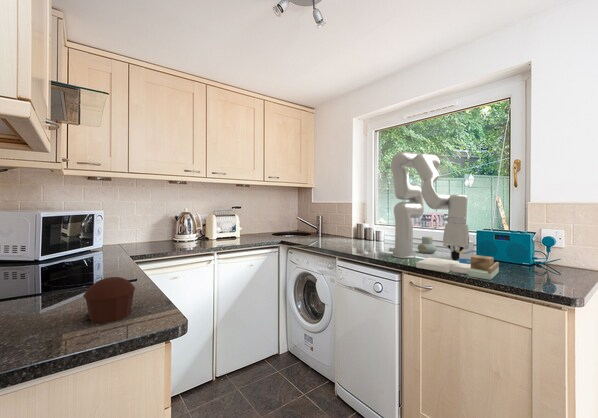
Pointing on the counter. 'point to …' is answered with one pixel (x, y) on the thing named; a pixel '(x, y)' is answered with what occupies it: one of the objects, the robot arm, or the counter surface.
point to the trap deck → (457, 267)
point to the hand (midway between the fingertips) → (455, 260)
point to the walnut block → (481, 262)
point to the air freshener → (427, 246)
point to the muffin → (109, 299)
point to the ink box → (466, 254)
